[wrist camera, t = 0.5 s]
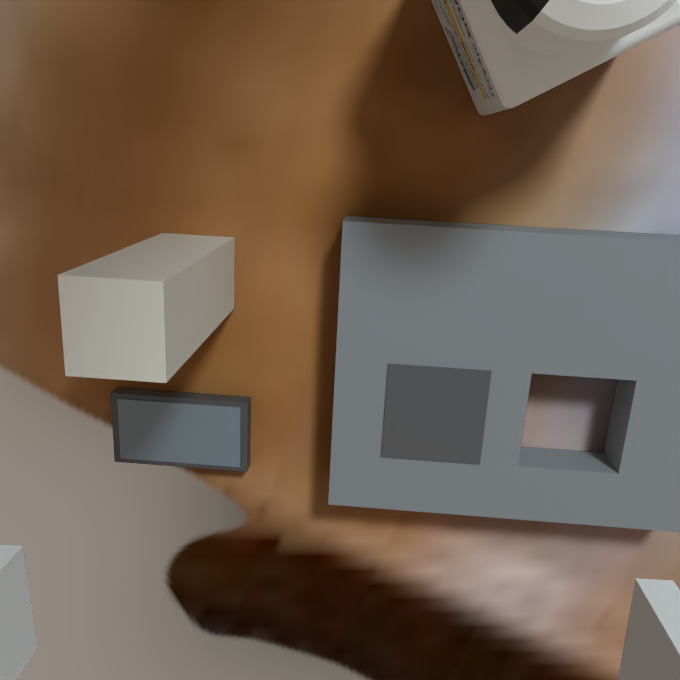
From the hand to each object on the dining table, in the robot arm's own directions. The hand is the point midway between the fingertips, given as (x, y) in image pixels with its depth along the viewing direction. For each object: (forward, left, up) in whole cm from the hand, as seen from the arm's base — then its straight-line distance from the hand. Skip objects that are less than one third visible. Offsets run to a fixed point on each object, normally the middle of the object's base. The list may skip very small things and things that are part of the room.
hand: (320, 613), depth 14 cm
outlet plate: (+2, +9, -23) cm, 25 cm away
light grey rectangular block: (-3, -9, -24) cm, 25 cm away
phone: (+7, -10, -23) cm, 26 cm away
